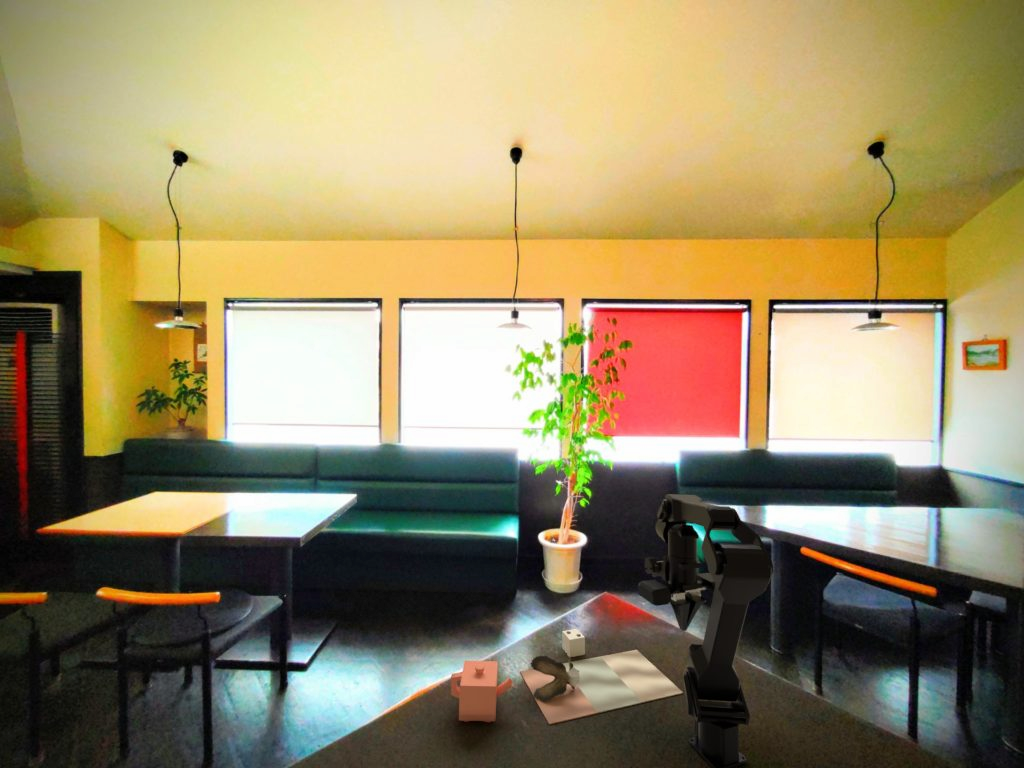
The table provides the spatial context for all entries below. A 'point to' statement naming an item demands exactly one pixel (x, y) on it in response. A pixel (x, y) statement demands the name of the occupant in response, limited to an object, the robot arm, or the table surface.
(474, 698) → the pink cube teapot
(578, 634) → the die
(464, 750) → the table surface
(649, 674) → the game mat
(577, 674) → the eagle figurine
